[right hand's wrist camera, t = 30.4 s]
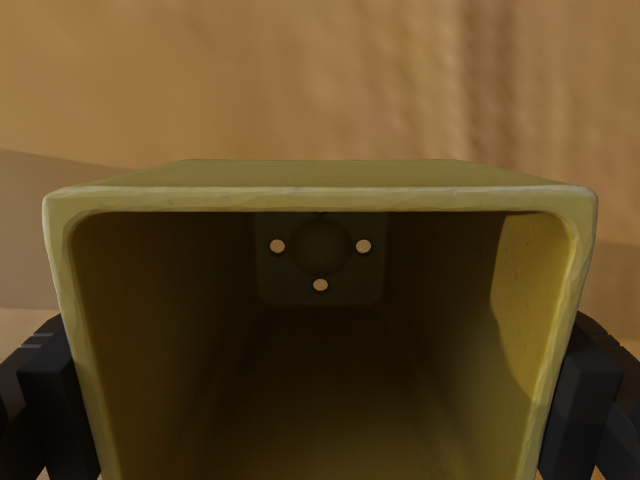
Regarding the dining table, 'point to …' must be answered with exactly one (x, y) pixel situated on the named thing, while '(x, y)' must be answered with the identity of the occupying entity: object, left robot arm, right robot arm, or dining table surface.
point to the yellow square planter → (319, 316)
